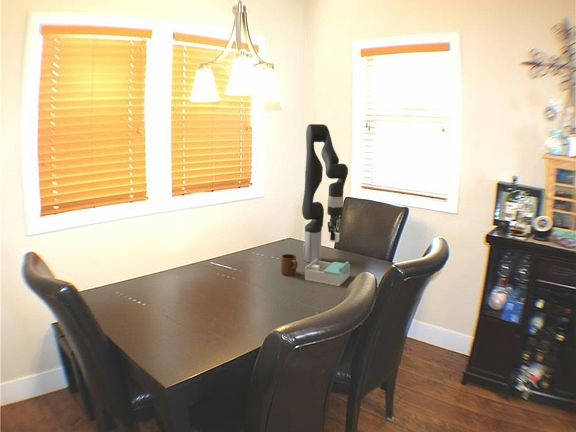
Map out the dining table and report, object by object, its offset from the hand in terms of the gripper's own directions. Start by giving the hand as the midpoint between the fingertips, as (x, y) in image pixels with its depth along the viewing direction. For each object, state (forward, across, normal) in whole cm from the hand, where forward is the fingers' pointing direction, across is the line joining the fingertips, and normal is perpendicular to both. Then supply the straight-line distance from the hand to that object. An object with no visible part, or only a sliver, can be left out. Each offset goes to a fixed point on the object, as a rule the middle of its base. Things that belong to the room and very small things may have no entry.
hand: (334, 238), depth 220 cm
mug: (+21, +5, -21) cm, 30 cm away
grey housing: (+21, 0, -3) cm, 21 cm away
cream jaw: (+1, 0, 0) cm, 1 cm away
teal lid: (+15, 0, +2) cm, 16 cm away
